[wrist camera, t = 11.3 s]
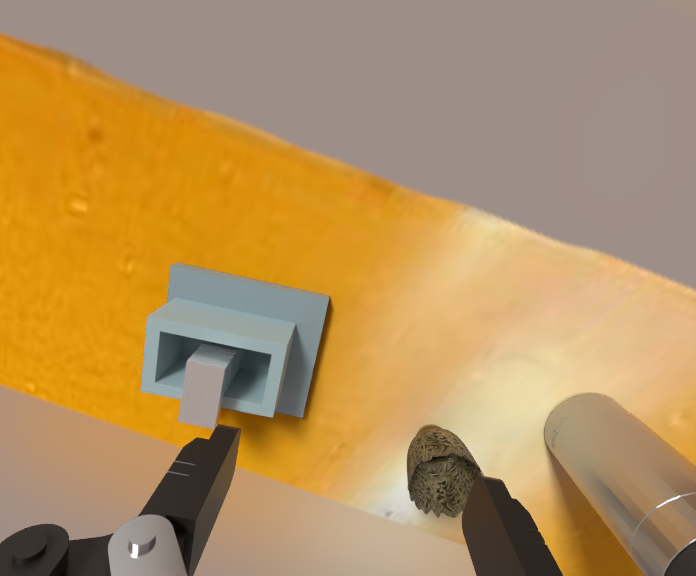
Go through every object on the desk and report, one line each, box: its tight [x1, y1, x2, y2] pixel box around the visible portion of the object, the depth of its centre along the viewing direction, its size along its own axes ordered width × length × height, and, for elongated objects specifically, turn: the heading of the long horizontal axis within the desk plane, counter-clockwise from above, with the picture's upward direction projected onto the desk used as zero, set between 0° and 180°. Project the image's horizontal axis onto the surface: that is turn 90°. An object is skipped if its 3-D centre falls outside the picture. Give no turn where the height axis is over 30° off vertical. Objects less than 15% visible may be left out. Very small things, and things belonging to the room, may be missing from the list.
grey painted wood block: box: [178, 341, 246, 429], centre depth 36 cm, size 3×6×8 cm, turn 166°
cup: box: [407, 424, 484, 518], centre depth 40 cm, size 8×7×8 cm
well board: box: [141, 263, 330, 418], centre depth 38 cm, size 16×14×7 cm
